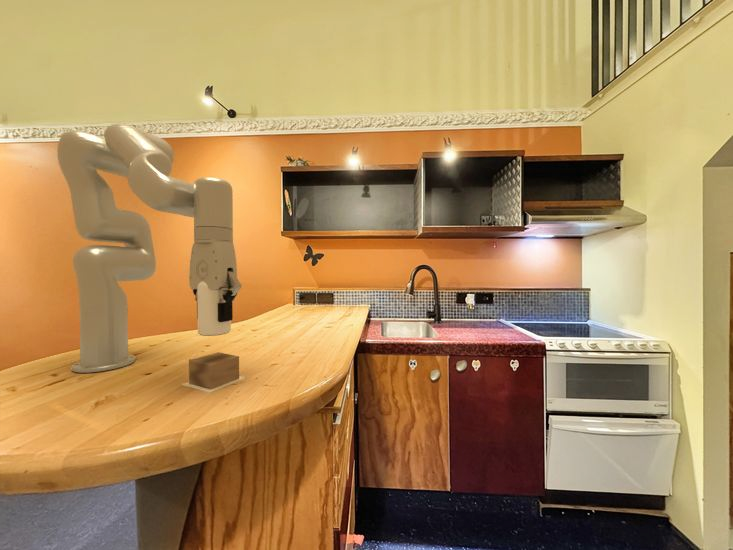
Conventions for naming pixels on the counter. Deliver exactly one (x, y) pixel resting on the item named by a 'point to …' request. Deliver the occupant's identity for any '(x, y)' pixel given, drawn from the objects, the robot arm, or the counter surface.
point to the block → (213, 370)
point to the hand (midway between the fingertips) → (214, 319)
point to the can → (210, 312)
